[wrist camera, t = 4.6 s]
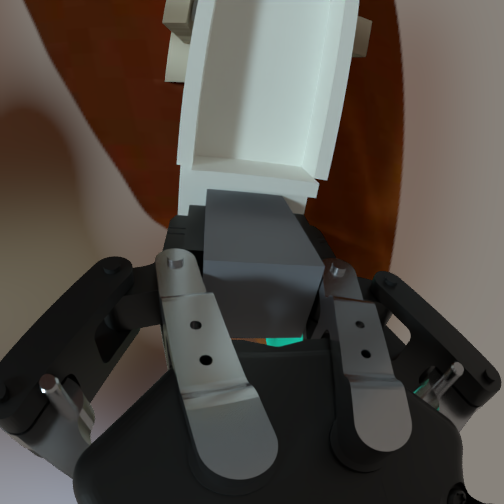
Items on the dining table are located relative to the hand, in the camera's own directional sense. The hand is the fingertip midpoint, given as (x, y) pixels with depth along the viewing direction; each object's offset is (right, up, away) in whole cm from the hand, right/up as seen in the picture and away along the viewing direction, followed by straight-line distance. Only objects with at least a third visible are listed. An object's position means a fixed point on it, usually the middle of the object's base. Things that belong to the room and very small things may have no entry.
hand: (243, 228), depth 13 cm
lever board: (+1, +9, -2) cm, 9 cm away
